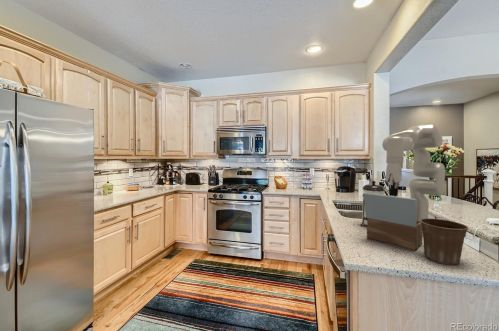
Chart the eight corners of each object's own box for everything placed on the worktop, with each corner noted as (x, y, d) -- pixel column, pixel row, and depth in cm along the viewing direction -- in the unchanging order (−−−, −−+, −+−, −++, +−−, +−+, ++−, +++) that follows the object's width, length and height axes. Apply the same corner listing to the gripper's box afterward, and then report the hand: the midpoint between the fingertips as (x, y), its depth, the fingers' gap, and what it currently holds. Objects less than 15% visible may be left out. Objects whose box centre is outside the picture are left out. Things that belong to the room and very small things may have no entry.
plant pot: (472, 271, 91) (474, 231, 90) (422, 262, 98) (423, 224, 98) (459, 256, 105) (461, 221, 104) (416, 249, 113) (417, 216, 112)
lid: (364, 192, 123) (363, 193, 122) (415, 198, 106) (415, 199, 105) (366, 216, 126) (365, 217, 125) (416, 226, 109) (416, 227, 108)
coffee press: (354, 222, 158) (355, 179, 157) (378, 223, 158) (379, 179, 157) (366, 230, 141) (367, 182, 140) (392, 231, 140) (394, 182, 139)
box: (376, 233, 135) (377, 213, 135) (422, 244, 119) (423, 221, 119) (366, 239, 126) (367, 217, 126) (414, 251, 110) (415, 226, 109)
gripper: (391, 160, 127) (390, 193, 128) (381, 160, 117) (380, 196, 118) (407, 160, 122) (406, 195, 122) (398, 160, 112) (397, 198, 112)
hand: (393, 195), depth 120 cm, fingers closed
